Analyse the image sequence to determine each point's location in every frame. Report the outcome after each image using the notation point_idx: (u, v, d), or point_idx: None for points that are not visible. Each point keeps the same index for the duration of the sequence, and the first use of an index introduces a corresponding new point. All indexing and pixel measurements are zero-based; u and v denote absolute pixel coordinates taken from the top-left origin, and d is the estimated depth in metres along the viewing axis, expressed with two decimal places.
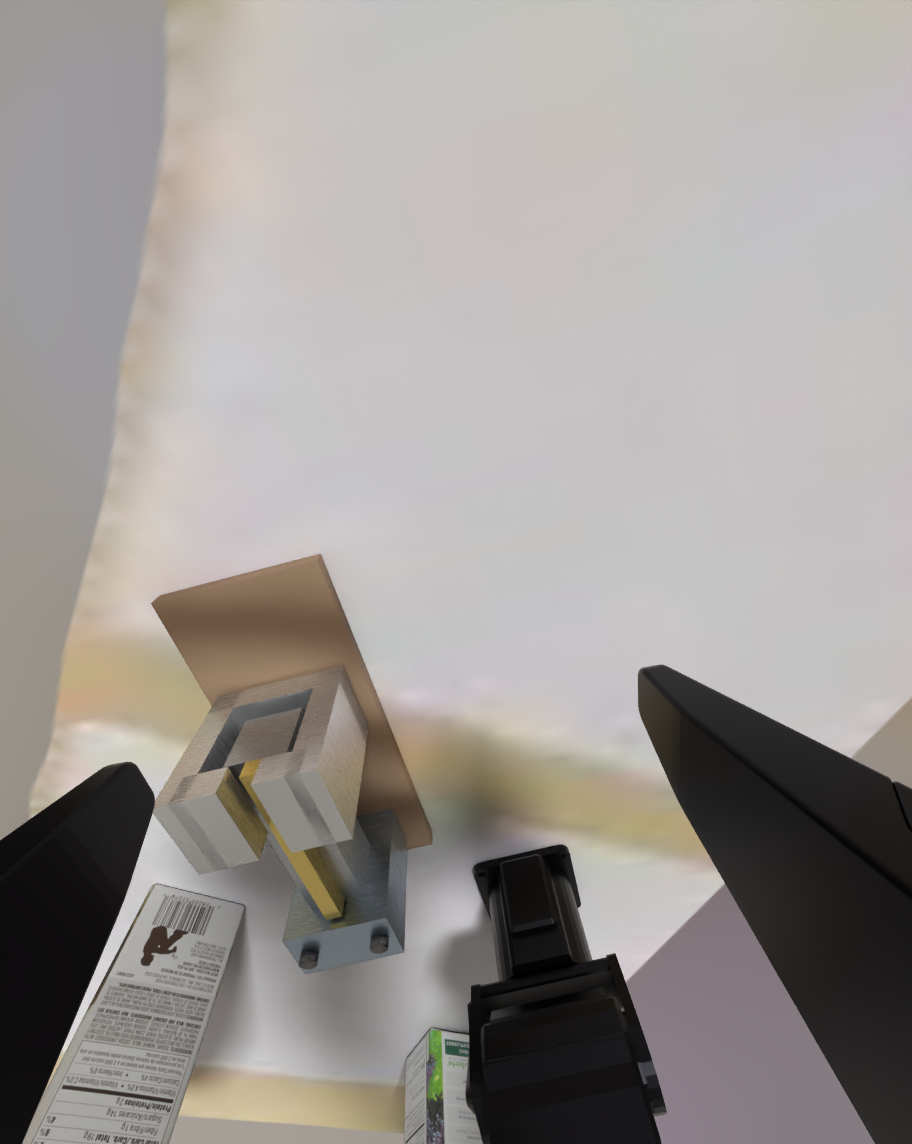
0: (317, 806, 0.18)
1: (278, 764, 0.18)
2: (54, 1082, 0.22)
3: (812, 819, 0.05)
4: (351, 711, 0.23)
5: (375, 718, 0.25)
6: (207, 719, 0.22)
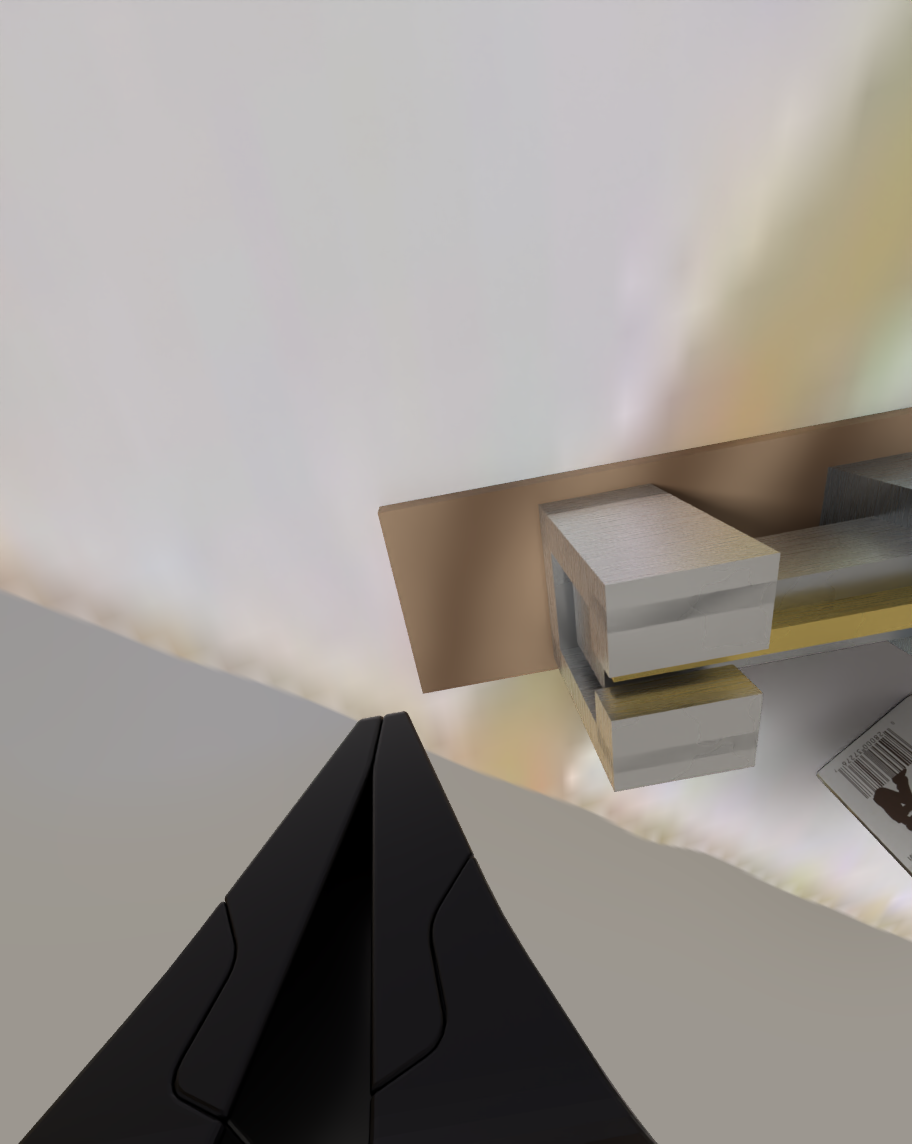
0: (684, 596, 0.11)
1: (597, 632, 0.12)
2: None
3: (373, 898, 0.05)
4: (601, 506, 0.15)
5: (643, 472, 0.17)
6: (565, 681, 0.18)
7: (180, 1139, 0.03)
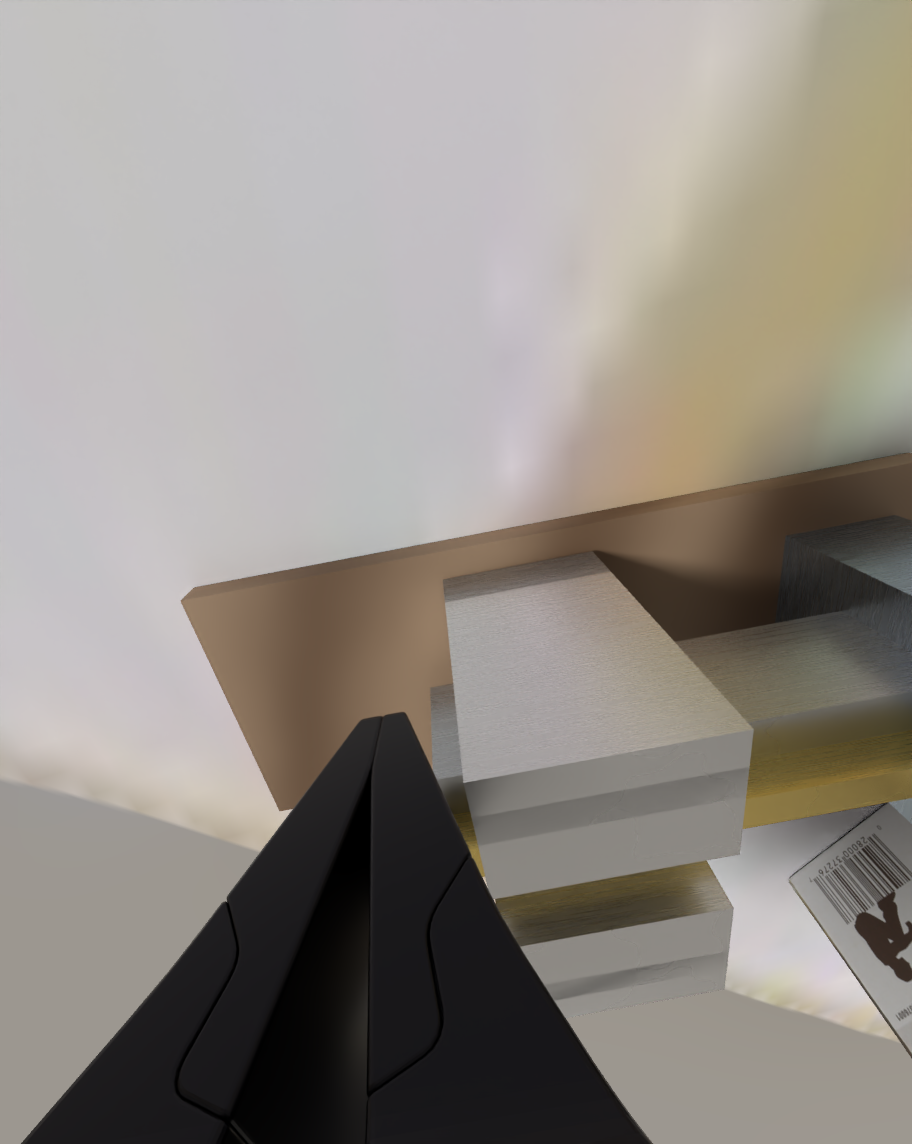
0: (598, 793, 0.07)
1: None
2: None
3: (371, 898, 0.05)
4: (518, 592, 0.11)
5: (536, 544, 0.12)
6: None
7: (182, 1139, 0.03)
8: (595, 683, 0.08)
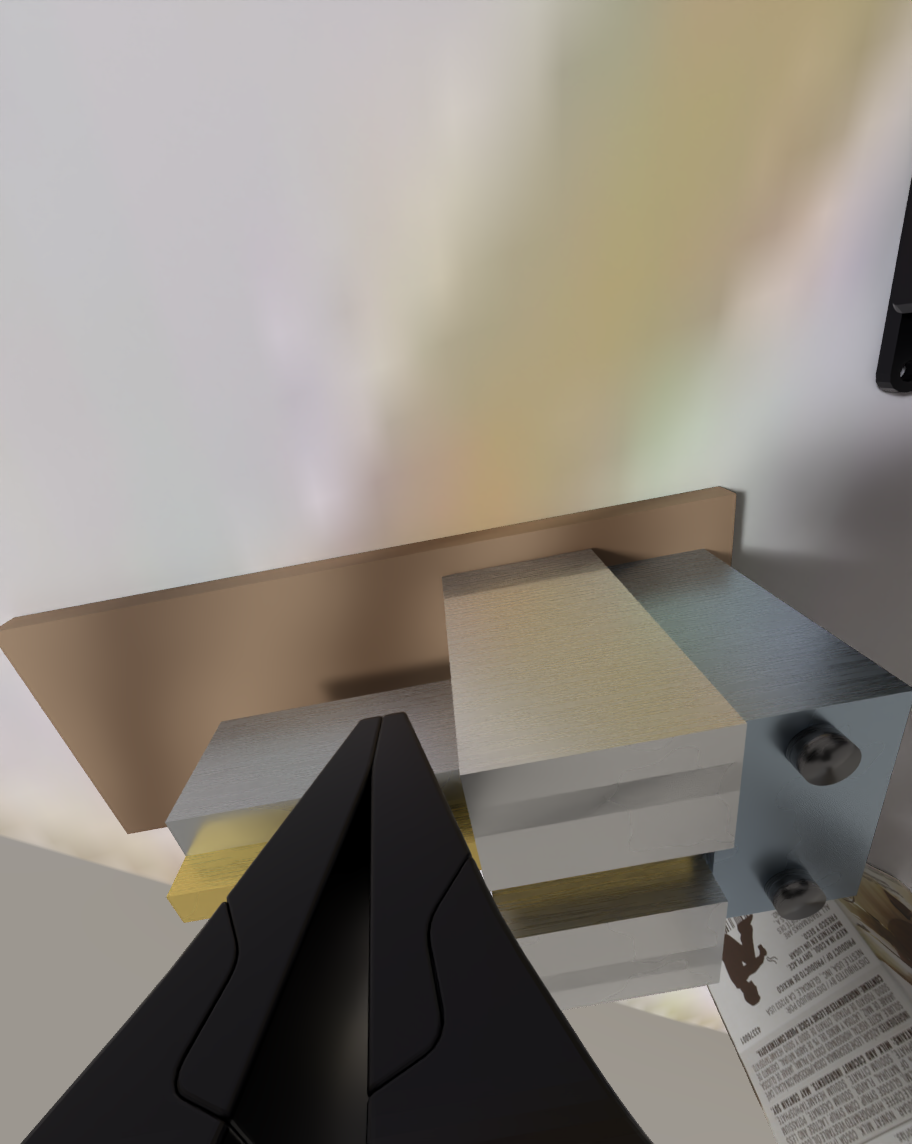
0: (593, 786, 0.07)
1: None
2: None
3: (371, 898, 0.05)
4: (516, 588, 0.11)
5: (342, 578, 0.13)
6: None
7: (182, 1139, 0.03)
8: (591, 678, 0.08)
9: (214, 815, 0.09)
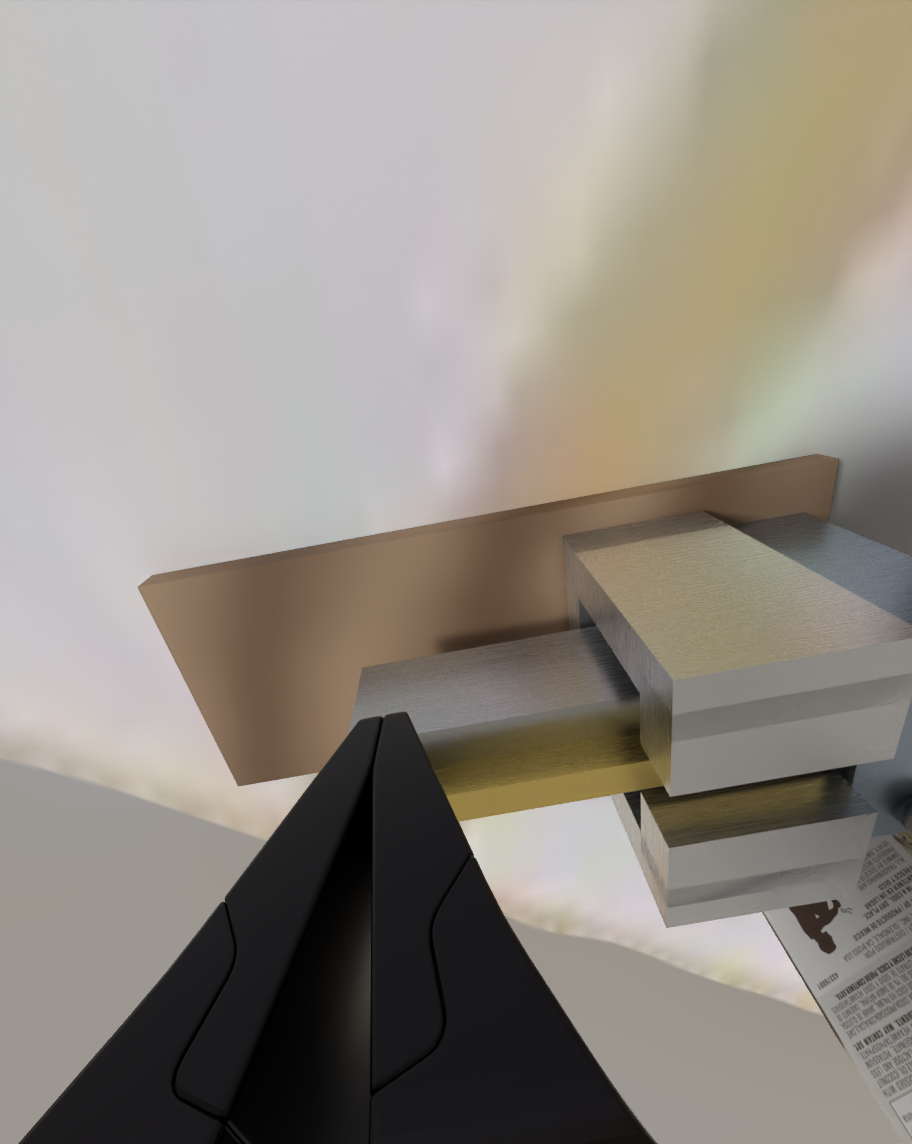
0: (785, 694, 0.08)
1: (652, 730, 0.09)
2: None
3: (373, 898, 0.05)
4: (644, 543, 0.12)
5: (466, 537, 0.13)
6: None
7: (181, 1138, 0.03)
8: (760, 607, 0.09)
9: None
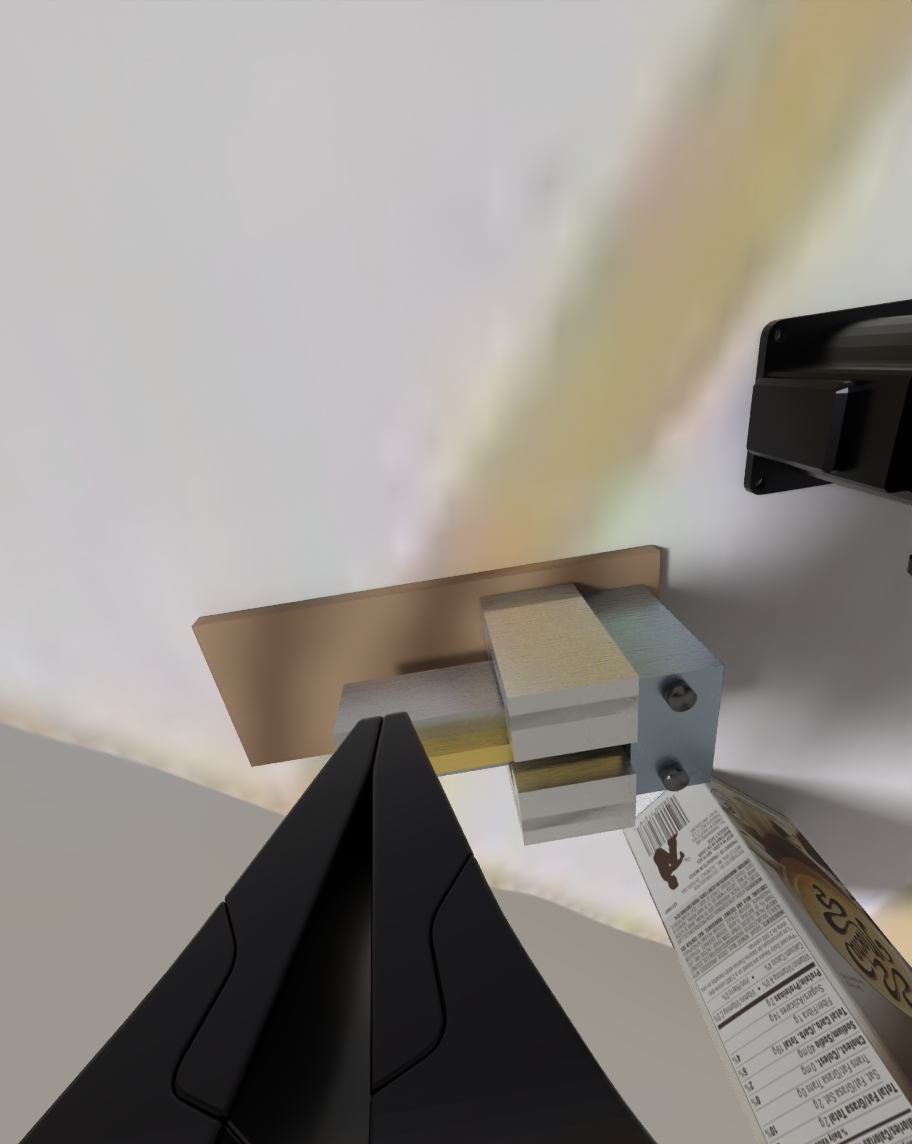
0: (568, 706, 0.14)
1: (508, 725, 0.15)
2: (710, 1028, 0.20)
3: (373, 897, 0.05)
4: (527, 607, 0.19)
5: (415, 597, 0.20)
6: None
7: (180, 1140, 0.03)
8: (569, 657, 0.16)
9: None
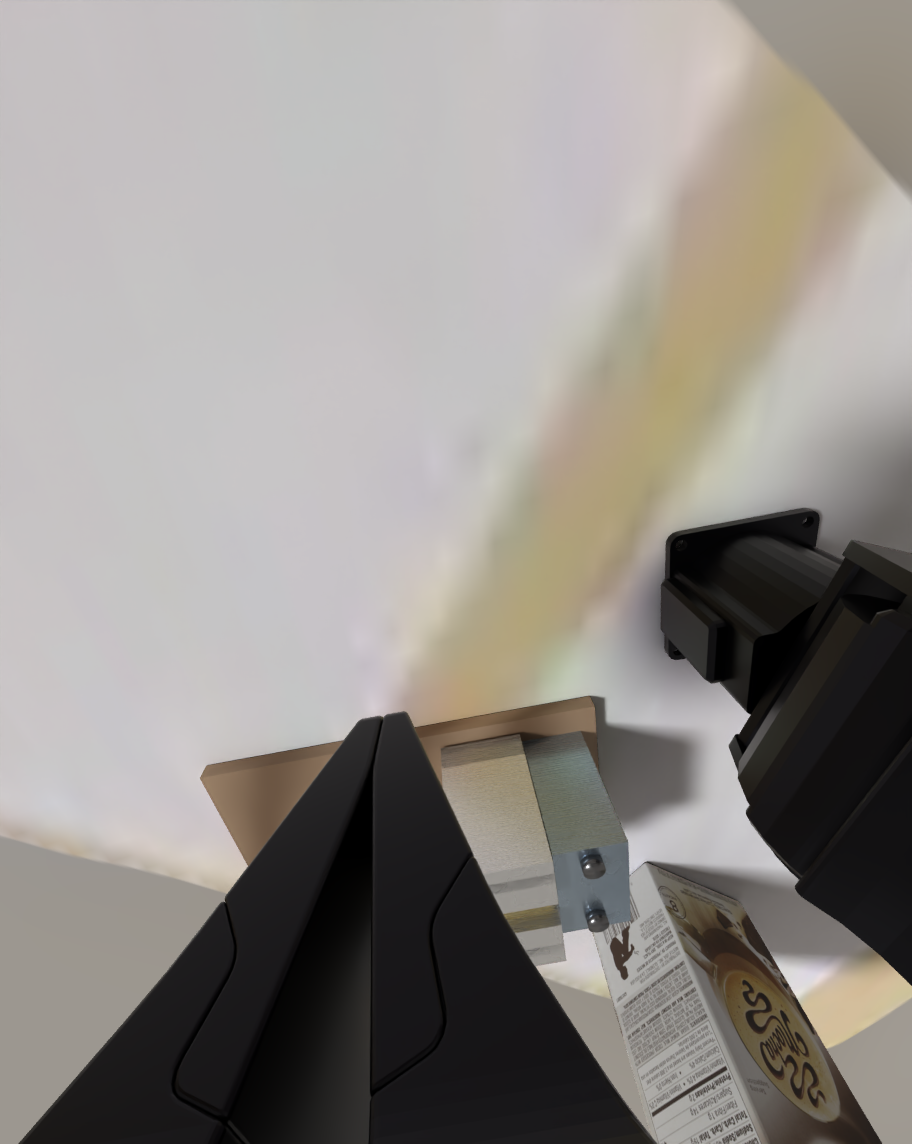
0: (497, 883, 0.18)
1: None
2: (646, 1115, 0.23)
3: (373, 897, 0.05)
4: (478, 764, 0.22)
5: None
6: None
7: (179, 1140, 0.03)
8: (502, 833, 0.19)
9: None
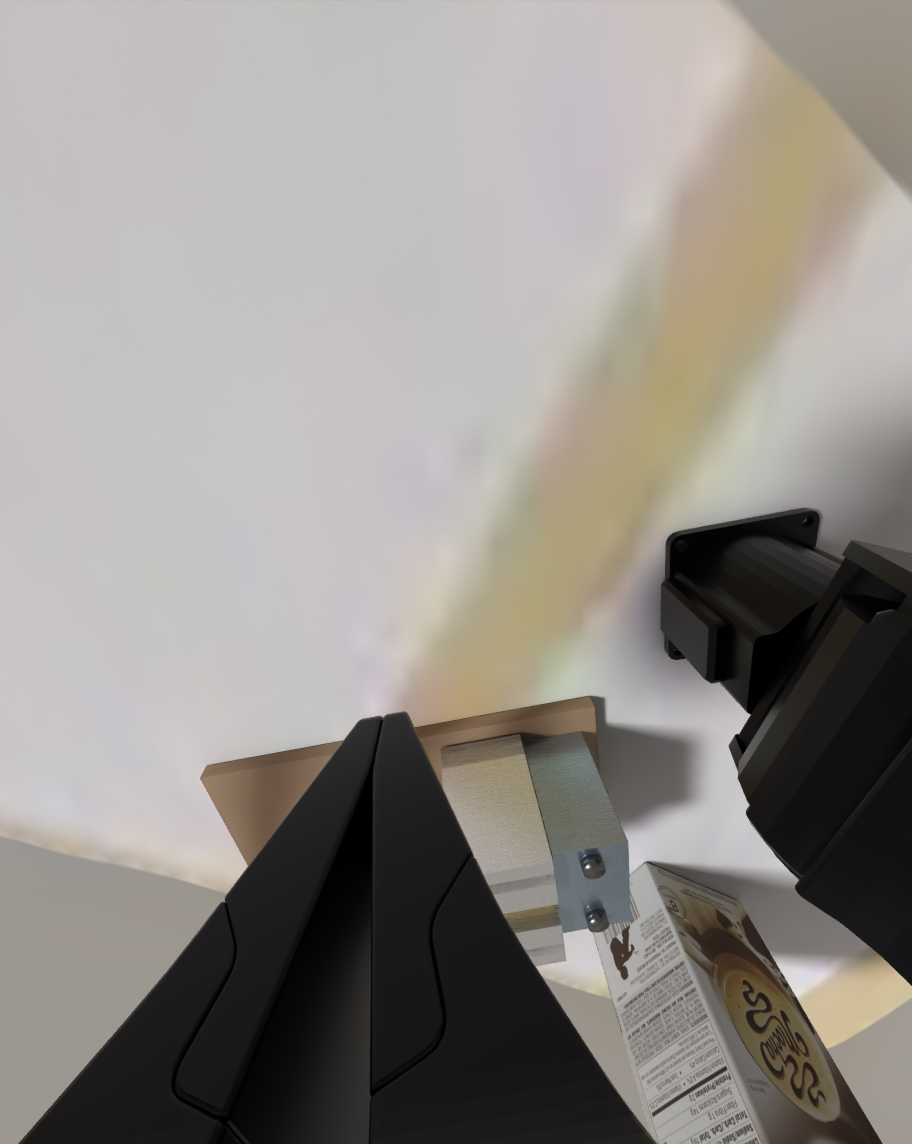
0: (497, 883, 0.18)
1: None
2: (646, 1115, 0.23)
3: (373, 897, 0.05)
4: (478, 764, 0.22)
5: None
6: None
7: (181, 1138, 0.03)
8: (502, 833, 0.19)
9: None
